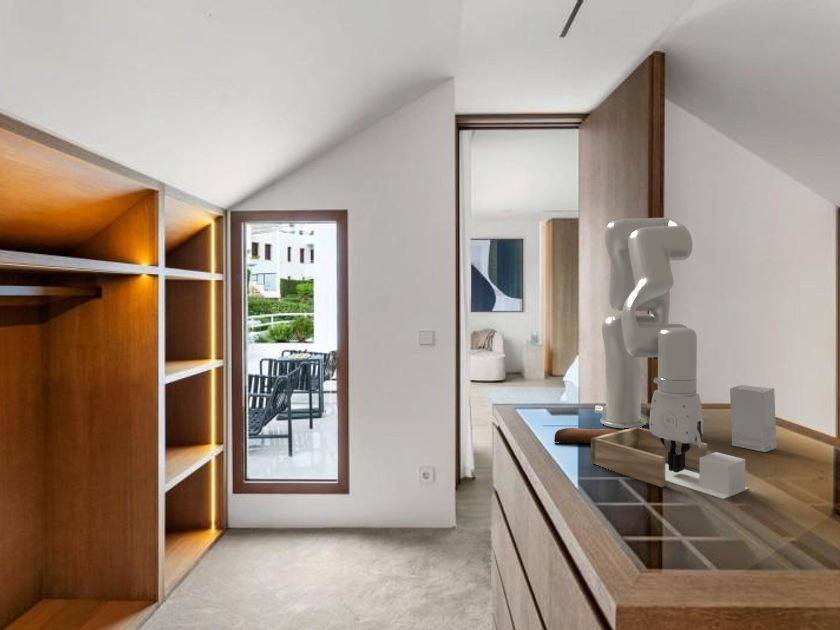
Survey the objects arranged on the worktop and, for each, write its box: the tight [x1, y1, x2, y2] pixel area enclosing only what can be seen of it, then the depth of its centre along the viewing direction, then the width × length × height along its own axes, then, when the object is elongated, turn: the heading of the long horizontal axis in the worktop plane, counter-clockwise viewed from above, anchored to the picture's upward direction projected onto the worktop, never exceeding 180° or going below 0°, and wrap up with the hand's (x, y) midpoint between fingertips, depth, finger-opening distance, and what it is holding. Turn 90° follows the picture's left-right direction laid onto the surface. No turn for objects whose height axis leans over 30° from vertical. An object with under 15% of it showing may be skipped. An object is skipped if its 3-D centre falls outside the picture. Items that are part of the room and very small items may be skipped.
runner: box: [665, 463, 749, 500], centre depth 123 cm, size 26×9×1 cm, turn 33°
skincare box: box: [729, 384, 777, 453], centre depth 141 cm, size 8×6×15 cm
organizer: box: [590, 427, 709, 488], centre depth 129 cm, size 16×18×6 cm
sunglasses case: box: [553, 427, 618, 444], centre depth 149 cm, size 18×7×7 cm
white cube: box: [698, 451, 746, 496], centre depth 115 cm, size 6×6×6 cm
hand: (676, 470), depth 123 cm, fingers closed
